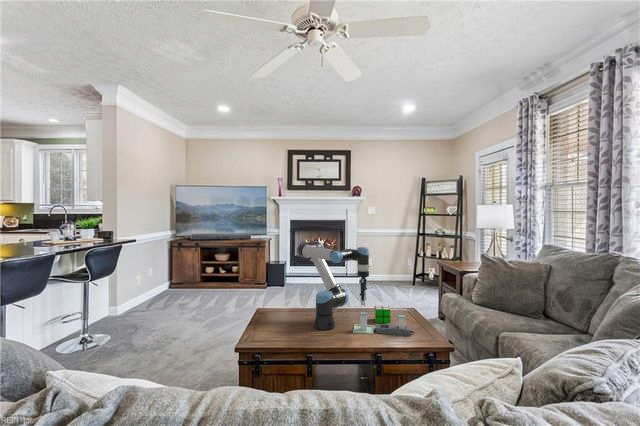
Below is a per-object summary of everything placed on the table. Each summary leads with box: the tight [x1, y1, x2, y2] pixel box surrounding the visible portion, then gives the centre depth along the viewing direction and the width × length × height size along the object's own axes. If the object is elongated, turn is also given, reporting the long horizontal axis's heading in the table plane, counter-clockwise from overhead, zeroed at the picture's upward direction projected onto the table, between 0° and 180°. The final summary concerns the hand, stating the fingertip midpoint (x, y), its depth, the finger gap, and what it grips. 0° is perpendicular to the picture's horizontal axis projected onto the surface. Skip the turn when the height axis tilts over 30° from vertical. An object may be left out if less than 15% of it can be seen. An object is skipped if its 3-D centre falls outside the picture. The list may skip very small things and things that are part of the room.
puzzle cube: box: [374, 304, 391, 324], centre depth 216 cm, size 10×10×10 cm
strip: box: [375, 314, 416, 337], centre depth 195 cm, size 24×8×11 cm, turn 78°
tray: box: [352, 323, 375, 335], centre depth 199 cm, size 13×13×1 cm
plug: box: [359, 311, 368, 331], centre depth 199 cm, size 4×4×11 cm
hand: (363, 302), depth 199 cm, fingers open, 13 cm apart
